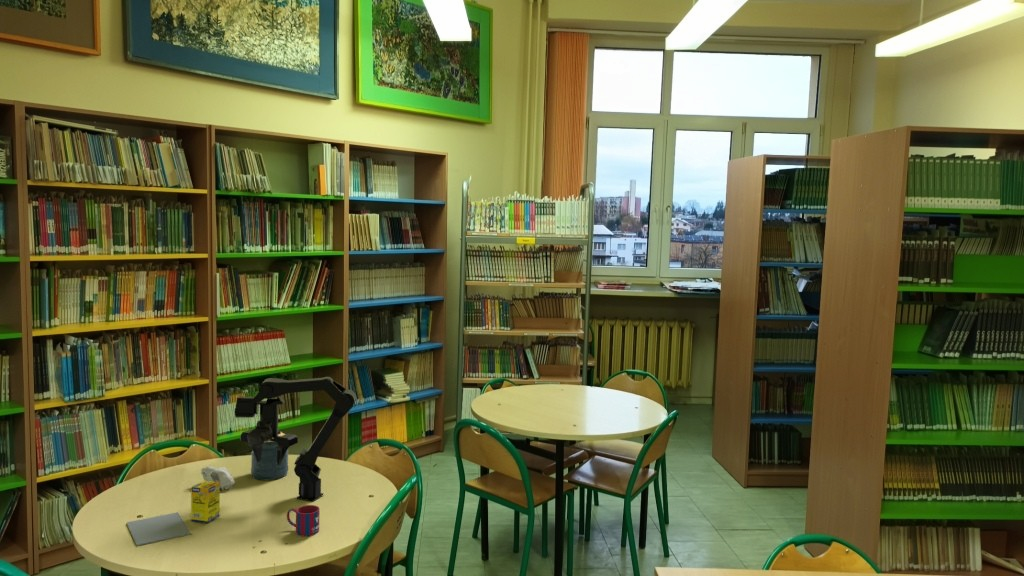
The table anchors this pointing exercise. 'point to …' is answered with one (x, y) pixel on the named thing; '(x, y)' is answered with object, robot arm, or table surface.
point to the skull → (218, 476)
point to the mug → (306, 520)
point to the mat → (158, 528)
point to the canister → (269, 463)
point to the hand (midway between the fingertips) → (268, 463)
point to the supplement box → (205, 501)
